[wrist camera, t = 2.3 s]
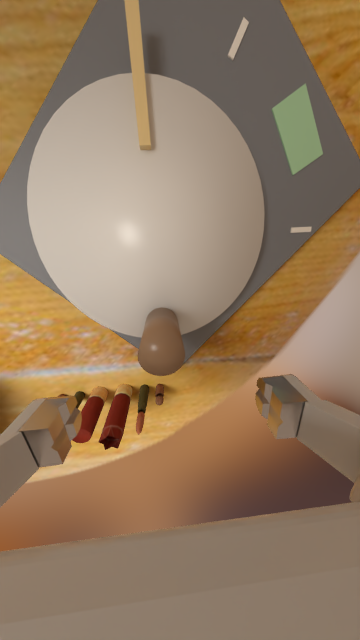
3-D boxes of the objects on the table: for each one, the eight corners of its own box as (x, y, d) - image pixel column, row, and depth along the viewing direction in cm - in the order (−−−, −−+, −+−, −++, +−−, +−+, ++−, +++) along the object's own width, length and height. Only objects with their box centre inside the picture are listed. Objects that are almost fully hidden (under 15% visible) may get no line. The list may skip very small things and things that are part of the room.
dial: (248, 326, 18) (293, 363, 12) (72, 341, 17) (19, 391, 10) (275, 31, 11) (418, -250, 5) (-23, 22, 10) (-332, -365, 4)
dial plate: (-13, 236, 14) (-29, 235, 13) (187, -125, 10) (191, -180, 8) (173, 366, 20) (173, 373, 19) (354, 183, 16) (370, 177, 14)
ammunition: (62, 403, 21) (21, 463, 15) (56, 388, 20) (12, 445, 14) (164, 392, 22) (164, 445, 16) (162, 377, 21) (162, 427, 15)
